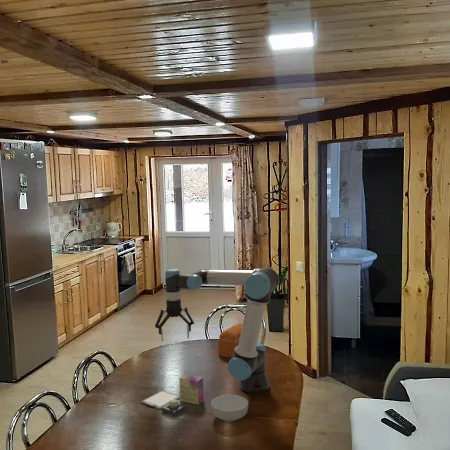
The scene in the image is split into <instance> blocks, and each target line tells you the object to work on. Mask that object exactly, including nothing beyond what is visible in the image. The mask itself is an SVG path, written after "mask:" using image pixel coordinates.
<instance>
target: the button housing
mask: <svg viewBox="0 0 450 450" xmlns="http://www.w3.org/2000/svg"><path fill="white" fill-rule="evenodd" d="M185 411H187V405H186V404H183V403H180V402H178V407H177V408H170V407H169V404H167V405H165V406H163V407H162V409H161V413H162V414H165V415H168V416H171V417H174V418H176V417H177V416H179V415H181V414H182V413H184V412H185Z"/></svg>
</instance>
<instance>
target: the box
mask: <svg viewBox="0 0 450 450" xmlns="http://www.w3.org/2000/svg"><path fill="white" fill-rule="evenodd" d="M204 394H205V393H204V377H203V376H199V375H198V376H197V375H193V374H187V373H184V374H183V375H181V376H180V377H179V396H180V399H179V402H183V403H187V404H188V403H189V404H193V405H198V406H199V405H200V404H202V402H203V401H204V399H205V398H204Z"/></svg>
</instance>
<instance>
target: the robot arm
mask: <svg viewBox="0 0 450 450" xmlns="http://www.w3.org/2000/svg"><path fill="white" fill-rule="evenodd" d="M164 274H165V275H164V276H165V277H164V280H165V298H166V301H165V303H166V305H165V306H166V308H165V309H164V308H160V313H159V315H158V317H157V320H156V322H155V324H154V327H155V329H158V335H160V339H161V342H164V332H163V331H164V330H163V326H164V325H165V324H166V322H167V321H168V320H169V319H170V318H178V317H180V318H181V319H182V320H183V321H184V322H185V323H186V338H187V339H190V333H191V332H192V328H191V327H192V325H195V321H194V320H193V318H192V317H191V314H190V312H189V310H188V308H187V307H188V306H184V307H182V300H181V298H182V296H181V295H182V294H181V290H182V289H183V290H192V291H193V290H194V291H197V290H199V289H200V288H201V287H202V285H220V286H221V285H223V286H225V285H226V286H244V291H245V292H246V293H245V298H246V300H247V304H246V307H245V313H244V317H243V320H242V321H243V322H242V323H243V326H242V331H241V336H240V340H239V345H238V346H237V347H235V349H234V354H233V358H230V360H229V362H228V364H227V370H228V373H229V374H230V376H231V377H232V378H234V379H235V380H237V381H239V388H240V389H241V391H243V392H246V393H251V394H257V393H259V394H260V393H263V392H266V391H267V390H269V388H270V382H269V378H268V376H267V373H266V371H267V370H266V351H267V350H266V346H265V344H263V343H261V342H258V340H259V336H260V331H261V328H262V323H263V318H264V312H265V309H266V305H267V304H269V303H270V300H271V296H272V292H273V291H274V290H276V289H277V288H278V286H279V284H280V276H279V275H278V274H279V273H277V272H276V270H274V269H272V268H269V267H262V268H254V269H253V270H245V269H244V270H237V269H236V270H233V269H230V270H229V269H228V270H227V269H226V270H225V269H220V270H219V269H208V268H201V269H198V270H197V271H194V272H191V273H187V274H186V273H180V270H179V269H178V268H170V269H167V270H165V272H164ZM182 311H183V312H185V314H186V315H187V317H188V319H189V320H188V319H187V318H186V317H185V316H184V315H183V314H182ZM165 313H166V315H165V317H164V318H163V315H164V314H165ZM162 318H163V319H162Z"/></svg>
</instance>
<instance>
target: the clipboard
mask: <svg viewBox="0 0 450 450" xmlns="http://www.w3.org/2000/svg"><path fill="white" fill-rule="evenodd" d="M173 399H176V400H178V401H179V400H180V395H177V394H174V393H172V392H168V391H164V390H160V391H158V392H157V393H155V394H152V395H150V396H148V397H147V398H145V399H142V400H141V401H140V404H143V405H146V406H147V407H148V406H149V407H151V408H154V409H157V410H159V411H160V410H161V411H162V407H163V406H165V405H167V404H169V401H170V400H173Z"/></svg>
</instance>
